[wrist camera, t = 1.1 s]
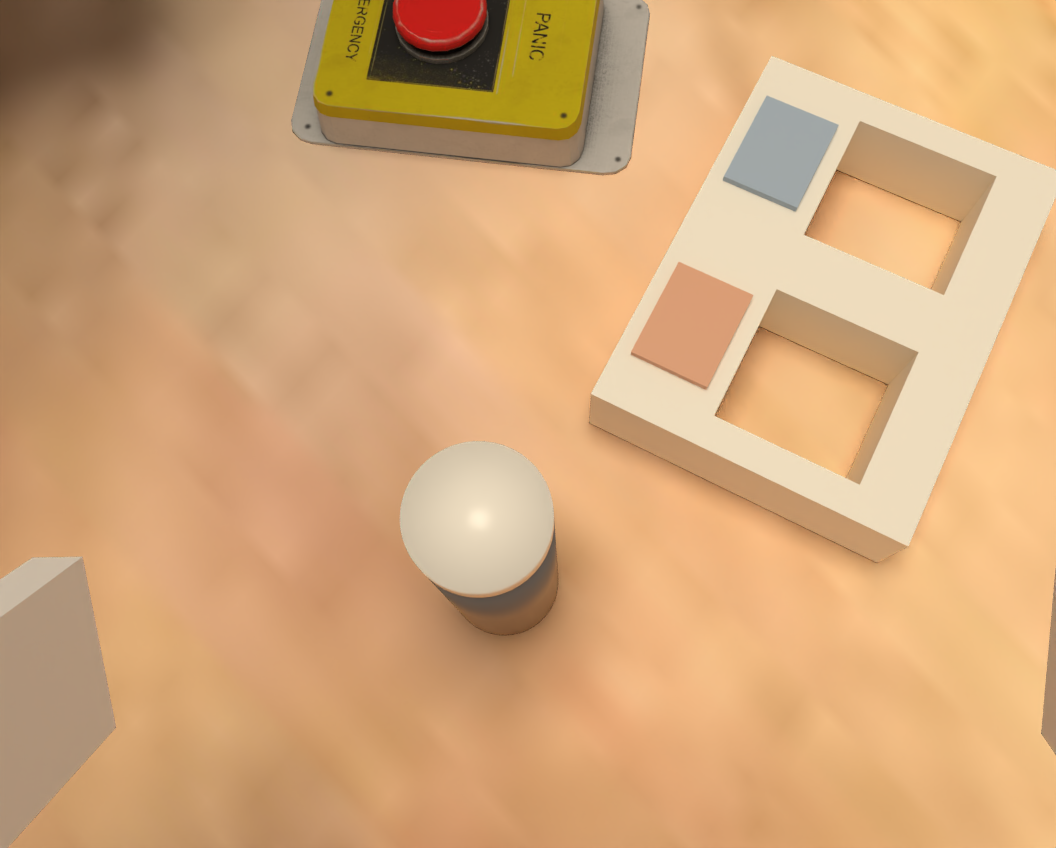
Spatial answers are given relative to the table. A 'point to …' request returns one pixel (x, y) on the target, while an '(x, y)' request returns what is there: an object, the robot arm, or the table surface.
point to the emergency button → (477, 80)
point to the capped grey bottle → (484, 534)
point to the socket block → (826, 303)
